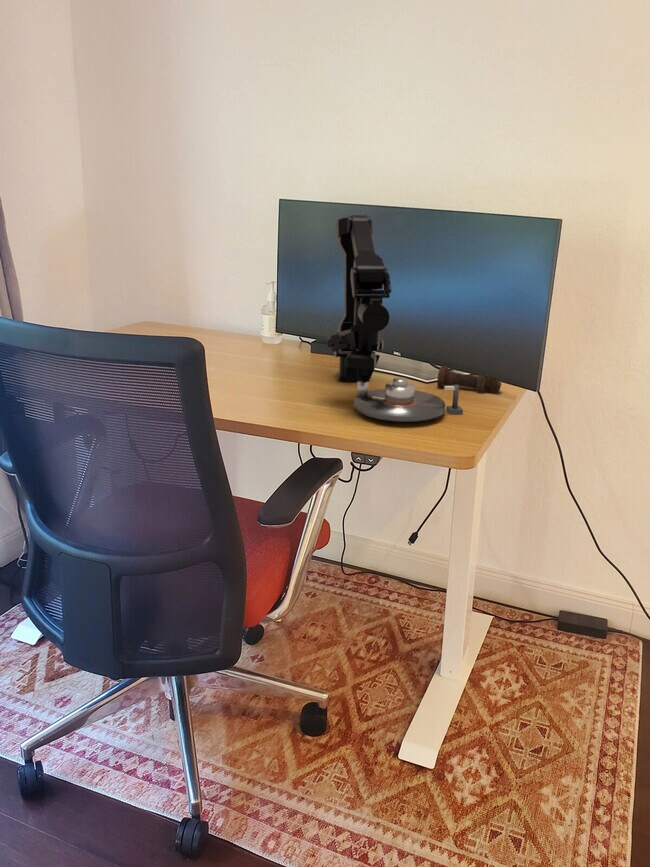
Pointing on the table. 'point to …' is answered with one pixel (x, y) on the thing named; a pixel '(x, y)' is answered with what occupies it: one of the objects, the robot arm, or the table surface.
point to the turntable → (376, 406)
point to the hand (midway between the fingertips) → (363, 387)
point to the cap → (399, 392)
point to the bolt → (466, 381)
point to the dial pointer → (454, 400)
